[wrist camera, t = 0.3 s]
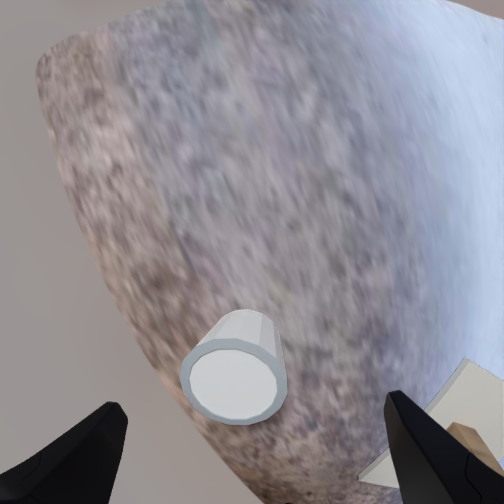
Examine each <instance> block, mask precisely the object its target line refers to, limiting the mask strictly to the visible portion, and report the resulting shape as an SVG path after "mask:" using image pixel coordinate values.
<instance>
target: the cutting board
mask: <svg viewBox="0 0 504 504" xmlns="http://www.w3.org/2000/svg"><path fill="white" fill-rule="evenodd" d="M424 411H425V412H426V413H427V414H428V415H429V416H430V417H432V418H433V419H434V420H435V421H436V422H437V423H438V424H440V425H441V426H442V427H443V428H444V429H445V430H446V429H447V428H448V427H449V426H450V425H451V424H452V423H453V422H456V423H459V424H462V425H465V426H468V427H471V428H474V429H475V430H476V431H477V433H478V434H479V436H480V437H481V438H482V440H483V441H484V443H485V444H486V445H487V447H488V448H489V450H490V451H491V453H492V454H493V456H494V457H495V459H496V460H497V461H498V462H499V461H500V460H501V459H502V458H503V456H504V380H503V379H501V378H500V377H498V376H496V375H495V374H493V373H492V372H490V371H488V370H487V369H485V368H483V367H482V366H480V365H479V364H477V363H475V362H474V361H472V360H470V359H469V358H467V357H464V359H463V360H462V362H461V363H460V364H459V366H458V367H457V369H456V370H455V371H454V373H453V374H452V376H451V377H450V378H449V380H448V381H447V382H446V384H445V385H444V386H443V387H442V389H441V390H440V391H439V393H438V394H437V395H436V396H435V398H434V399H433V400H432V401H431V402H430V404H429V405H428V406H427V407H426V408H425V409H424ZM358 477H359V481H362V482H367V483H372V484H377V485H383V486H388V487H395V488H399V484H398V480H397V476H396V473H395V469H394V465H393V462H392V458H391V454H390V448H388V449H387V450H386V451H384V452H383V453H382V454H381V455H380V456H379V457H378V458H377V459H376V460H375V461H374V462H373V463H371V464H370V465H369V466H368V467H367V468H366V469H365V470H363V471H362V472H361V473H360V474H359V475H358Z"/></svg>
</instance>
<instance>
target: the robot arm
mask: <svg viewBox="0 0 504 504" xmlns="http://www.w3.org/2000/svg"><path fill="white" fill-rule="evenodd" d="M384 418H385V423H386V429H387V436H388V442H389V448H390V454H391V458H392V462H393V465H394V469H395V473H396V476H397V480H398V484H399V488H400V492H401V496H402V500H403V504H504V476H502V475H501V474H499V473H497V472H496V471H495V470H493V469H492V468H490V467H489V466H487V465H486V464H485V463H484V462H482V461H481V460H480V459H479V458H477V457H476V456H475V455H474V454H473V453H472V452H469V450H468V449H467V448H466V447H465V446H464V445H462V444H461V443H460V442H459V441H458V440H457V439H456V438H454V437H453V436H452V435H451V434H450V433H449V432H448V431H446V430H445V429H444V428H443V427H442V426H441V425H440V424H438V423H437V422H436V421H435V420H434V419H433V418H432V417H430V416H429V415H428V414H427V413H426V412H425V411H424V410H422V409H421V408H420V407H419V406H418V405H417V404H416V403H415V402H413V401H412V400H411V399H410V398H409V397H408V396H407V395H405V394H404V393H403V392H402V391H400V390H396V391H392V392H389V393H388V394H387V396H386V401H385V405H384ZM127 425H128V418H127V416H126V414H125V412H124V411H123V409H122V408H121V406H120V405H119V404H118V403H117V402H106V403H105V404H103V405H102V406H101V407H99V408H98V409H97V410H95V411H94V412H93V413H91V414H90V415H89V416H87V417H86V418H85V419H83V420H82V421H81V422H79V423H78V424H76V425H75V426H74V427H72V428H71V429H70V430H68V431H67V432H66V433H64V434H63V435H61V436H60V437H59V438H57V439H56V440H54V441H53V442H52V443H50V444H49V445H48V446H46V447H45V448H43V449H42V450H40V451H39V452H37V453H36V454H35V455H33V456H32V457H30V458H29V459H27V460H25V461H24V462H22V463H20V464H19V465H17V466H15V467H13V468H11V469H10V470H8V471H6V472H4V473H2V474H0V504H108V503H109V499H110V496H111V492H112V489H113V485H114V481H115V478H116V474H117V471H118V467H119V463H120V460H121V456H122V452H123V445H124V441H125V435H126V430H127ZM287 504H289V503H287Z"/></svg>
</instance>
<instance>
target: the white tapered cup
mask: <svg viewBox="0 0 504 504" xmlns="http://www.w3.org/2000/svg"><path fill="white" fill-rule="evenodd" d="M180 380H181V385H182V389H183V393H184V394H185V396H186V397H187V398H188V400H189V401H190V402H191V404H192V405H193V406H194V408H195V409H197V410H198V411H200V412H201V413H203V414H204V415H206V416H207V417H208V418H210V419H213V420H216V421H219V422H222V423H225V424H228V425H250V424H254V423H257V422H260V421H263V420H266V419H268V418H269V417H270V416H271V415H273V414H274V413H275V412H276V411H278V410H279V409H280V408H281V406H282V404H283V402H284V399H285V397H286V395H287V376H286V370H285V364H284V358H283V352H282V347H281V341H280V335H279V332H278V330H277V328H276V327H275V325H274V323H273V322H272V321H271V320H270V319H269V318H267V317H266V316H265V315H264V314H262V313H259V312H256V311H253V310H250V309H247V310H235V311H233V312H231V313H228V314H226V315H224V316H223V317H222V318H221V319H220V320H219V321H218V323H217V324H216V325H215V326H214V327H213V328H212V329H211V330H210V331H209V332H208V333H207V335H206V336H205V337H204V338H203V339H202V340H201V341H200V342H199V343H198V344H197V345H196V346H195V348H194V349H193V350H192V351H191V352H190V353H189V354H188V355H187V357H186V358H185V359H184V360H183V364H182V368H181V372H180Z"/></svg>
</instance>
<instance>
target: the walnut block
mask: <svg viewBox="0 0 504 504" xmlns="http://www.w3.org/2000/svg"><path fill="white" fill-rule="evenodd" d="M446 431H448V432H449V433H450V434H451V435H452V436H453V437H454V438H456V439H457V440H458V441H459V442H460V443H461V444H462V445H464V446H465V447H466V448H467V449H468V450H469V452H472V453H473V454H474V455H475V456H476V457H477V458H479V459H480V460H481V461H482V462H484V463H485V464H486V465H487V466H489V467H490V468H492V469H493V470H495V471H496V472H497V473H499V474H501V475H502V476H504V471H503V469H502V467H501V466H500V464H499V463H498V461H497V460H496V459H495V457H494V456H493V454H492V453H491V451H490V450H489V448H488V447H487V445H486V444H485V443H484V441H483V440H482V438H481V437H480V436H479V434H478V433H477V431H476V430H475V429H474V428H471V427H468V426H465V425H462V424H459V423H456V422H453V423H452V424H451V425H450V426H449V427H448V428H447V429H446Z"/></svg>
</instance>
